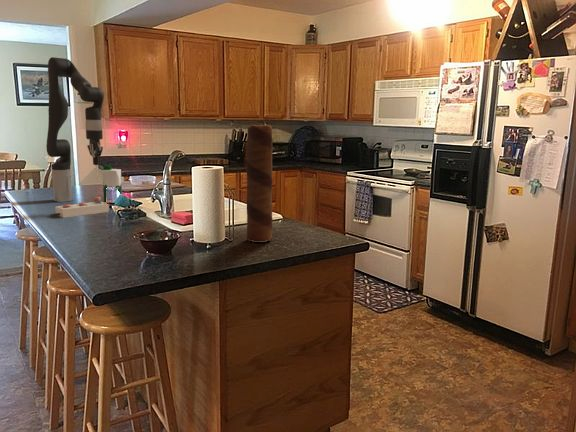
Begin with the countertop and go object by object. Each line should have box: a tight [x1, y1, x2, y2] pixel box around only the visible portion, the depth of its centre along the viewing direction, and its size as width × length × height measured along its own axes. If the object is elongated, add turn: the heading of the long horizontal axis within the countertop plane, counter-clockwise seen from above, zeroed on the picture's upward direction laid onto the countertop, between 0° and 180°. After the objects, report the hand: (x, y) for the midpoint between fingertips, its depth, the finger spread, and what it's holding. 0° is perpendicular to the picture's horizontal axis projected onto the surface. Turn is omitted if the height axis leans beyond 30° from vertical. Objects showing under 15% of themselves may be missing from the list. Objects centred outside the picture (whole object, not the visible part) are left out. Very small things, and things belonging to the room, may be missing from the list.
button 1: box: [62, 203, 71, 208], centre depth 226 cm, size 3×3×3 cm
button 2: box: [78, 202, 87, 206], centre depth 231 cm, size 3×3×3 cm
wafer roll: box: [245, 124, 274, 241], centre depth 184 cm, size 10×11×45 cm
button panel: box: [49, 201, 110, 218], centre depth 230 cm, size 9×26×5 cm, turn 136°
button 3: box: [93, 196, 102, 203], centre depth 236 cm, size 3×3×3 cm
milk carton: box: [101, 164, 123, 202], centre depth 259 cm, size 9×9×20 cm
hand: (96, 164), depth 237 cm, fingers closed
